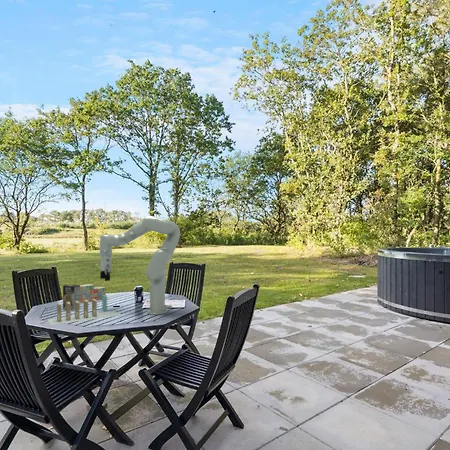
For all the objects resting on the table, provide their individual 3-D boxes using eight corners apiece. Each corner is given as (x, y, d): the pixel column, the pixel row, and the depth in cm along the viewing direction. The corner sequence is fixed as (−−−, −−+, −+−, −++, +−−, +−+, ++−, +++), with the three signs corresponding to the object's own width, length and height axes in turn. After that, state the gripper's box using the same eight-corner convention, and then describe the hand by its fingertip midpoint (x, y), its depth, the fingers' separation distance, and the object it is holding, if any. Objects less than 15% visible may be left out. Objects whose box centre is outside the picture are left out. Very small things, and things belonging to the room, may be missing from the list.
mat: (114, 311, 237) (114, 310, 237) (121, 315, 225) (121, 315, 225) (47, 320, 214) (47, 319, 214) (50, 325, 203) (50, 324, 203)
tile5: (68, 318, 217) (68, 301, 217) (70, 320, 213) (70, 303, 213) (66, 318, 216) (66, 302, 216) (67, 320, 212) (67, 303, 212)
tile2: (94, 315, 225) (94, 298, 225) (96, 316, 221) (96, 300, 221) (92, 315, 224) (91, 299, 224) (94, 317, 220) (94, 300, 220)
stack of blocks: (102, 298, 280) (102, 282, 280) (105, 299, 275) (105, 283, 276) (74, 302, 265) (74, 285, 265) (77, 303, 261) (77, 286, 261)
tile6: (59, 319, 214) (59, 302, 214) (61, 321, 210) (61, 304, 210) (56, 320, 213) (56, 303, 213) (58, 321, 209) (58, 304, 209)
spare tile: (104, 310, 240) (104, 295, 240) (106, 311, 236) (106, 296, 236) (102, 310, 240) (102, 295, 240) (104, 311, 235) (104, 296, 235)
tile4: (77, 317, 220) (77, 300, 220) (79, 319, 215) (79, 302, 216) (74, 317, 219) (74, 301, 219) (76, 319, 215) (76, 302, 215)
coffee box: (62, 309, 242) (62, 285, 242) (69, 307, 248) (69, 284, 248) (73, 310, 239) (73, 286, 239) (80, 308, 245) (80, 284, 245)
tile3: (86, 316, 222) (86, 299, 222) (88, 317, 218) (88, 301, 218) (83, 316, 222) (83, 300, 222) (85, 318, 217) (85, 301, 217)
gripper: (115, 254, 231) (115, 281, 231) (107, 252, 245) (106, 277, 245) (104, 254, 227) (103, 281, 227) (96, 252, 241) (95, 278, 241)
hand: (105, 279), depth 236 cm, fingers open, 9 cm apart
